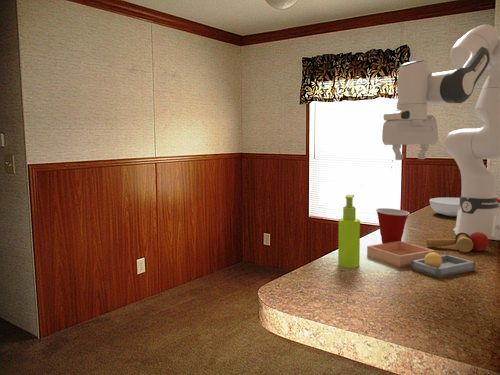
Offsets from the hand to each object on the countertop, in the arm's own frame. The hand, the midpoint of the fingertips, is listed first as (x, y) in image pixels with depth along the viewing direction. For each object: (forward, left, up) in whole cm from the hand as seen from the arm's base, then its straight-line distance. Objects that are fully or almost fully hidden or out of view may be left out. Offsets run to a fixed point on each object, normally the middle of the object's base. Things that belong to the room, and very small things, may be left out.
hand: (410, 159), depth 134 cm
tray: (+7, +19, -29) cm, 35 cm away
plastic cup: (-1, -8, -29) cm, 30 cm away
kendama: (-15, +6, -30) cm, 34 cm away
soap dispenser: (+26, +3, -29) cm, 39 cm away
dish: (+9, +5, -29) cm, 31 cm away
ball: (+11, +19, -26) cm, 34 cm away
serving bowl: (-67, -37, -29) cm, 82 cm away
